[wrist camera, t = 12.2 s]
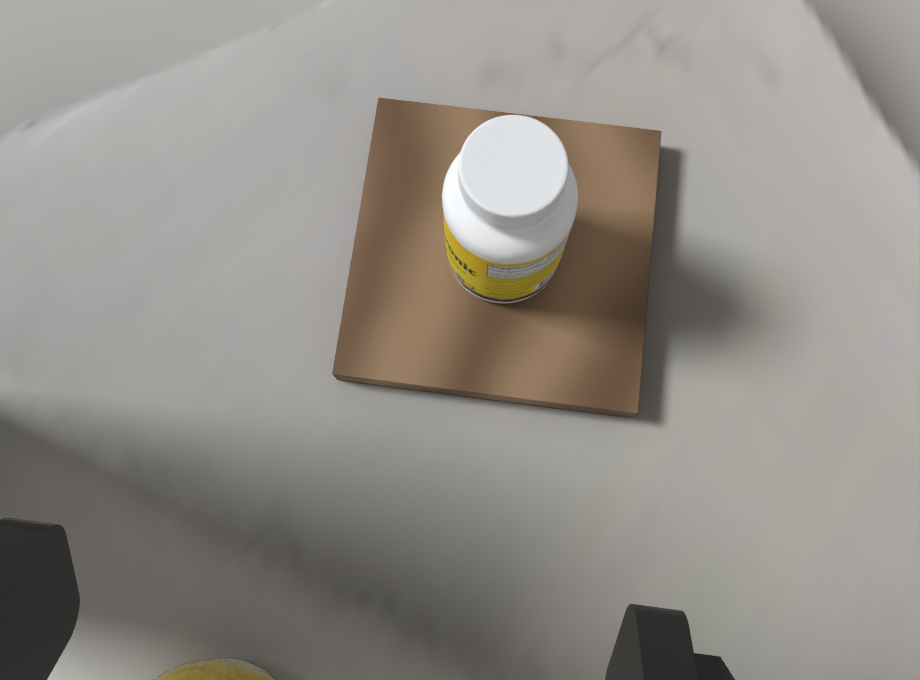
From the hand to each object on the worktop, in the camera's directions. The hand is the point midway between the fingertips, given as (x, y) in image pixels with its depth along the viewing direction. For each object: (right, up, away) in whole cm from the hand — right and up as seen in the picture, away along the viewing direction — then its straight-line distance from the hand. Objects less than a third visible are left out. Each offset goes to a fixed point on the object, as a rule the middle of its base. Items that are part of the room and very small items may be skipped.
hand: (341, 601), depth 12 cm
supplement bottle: (+4, +8, +28) cm, 29 cm away
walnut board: (+4, +8, +29) cm, 30 cm away
